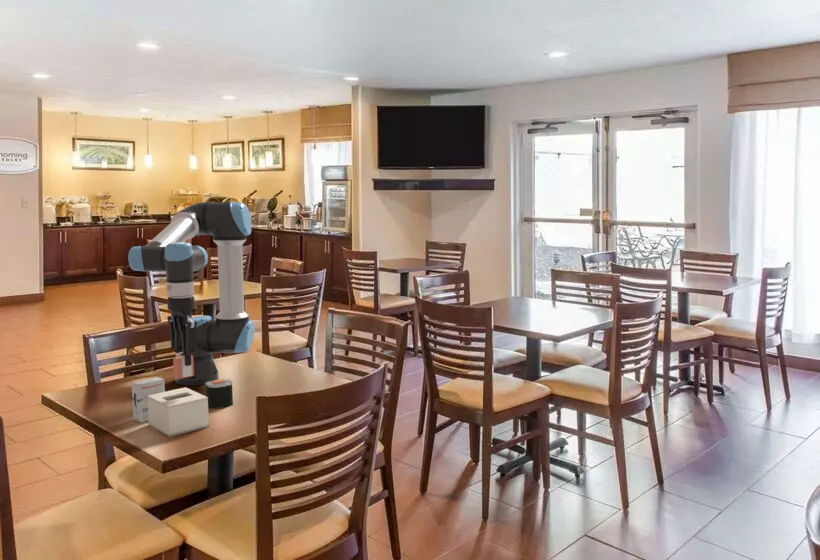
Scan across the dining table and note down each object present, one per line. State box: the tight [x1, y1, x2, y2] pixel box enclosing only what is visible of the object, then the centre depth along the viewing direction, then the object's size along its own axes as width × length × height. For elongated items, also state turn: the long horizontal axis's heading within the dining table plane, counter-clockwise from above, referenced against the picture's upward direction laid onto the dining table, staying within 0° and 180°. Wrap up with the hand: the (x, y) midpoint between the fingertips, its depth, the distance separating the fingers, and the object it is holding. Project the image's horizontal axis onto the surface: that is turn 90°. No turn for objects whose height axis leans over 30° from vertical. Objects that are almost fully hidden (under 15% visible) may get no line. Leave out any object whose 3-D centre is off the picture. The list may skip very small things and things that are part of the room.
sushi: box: [204, 378, 234, 409], centre depth 225 cm, size 8×8×8 cm
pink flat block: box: [172, 355, 194, 379], centre depth 203 cm, size 2×5×6 cm, turn 136°
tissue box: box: [147, 387, 210, 438], centre depth 204 cm, size 14×12×9 cm
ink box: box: [131, 376, 166, 424], centre depth 211 cm, size 8×5×12 cm, turn 140°
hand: (184, 374), depth 203 cm, fingers closed on pink flat block, 2 cm apart
